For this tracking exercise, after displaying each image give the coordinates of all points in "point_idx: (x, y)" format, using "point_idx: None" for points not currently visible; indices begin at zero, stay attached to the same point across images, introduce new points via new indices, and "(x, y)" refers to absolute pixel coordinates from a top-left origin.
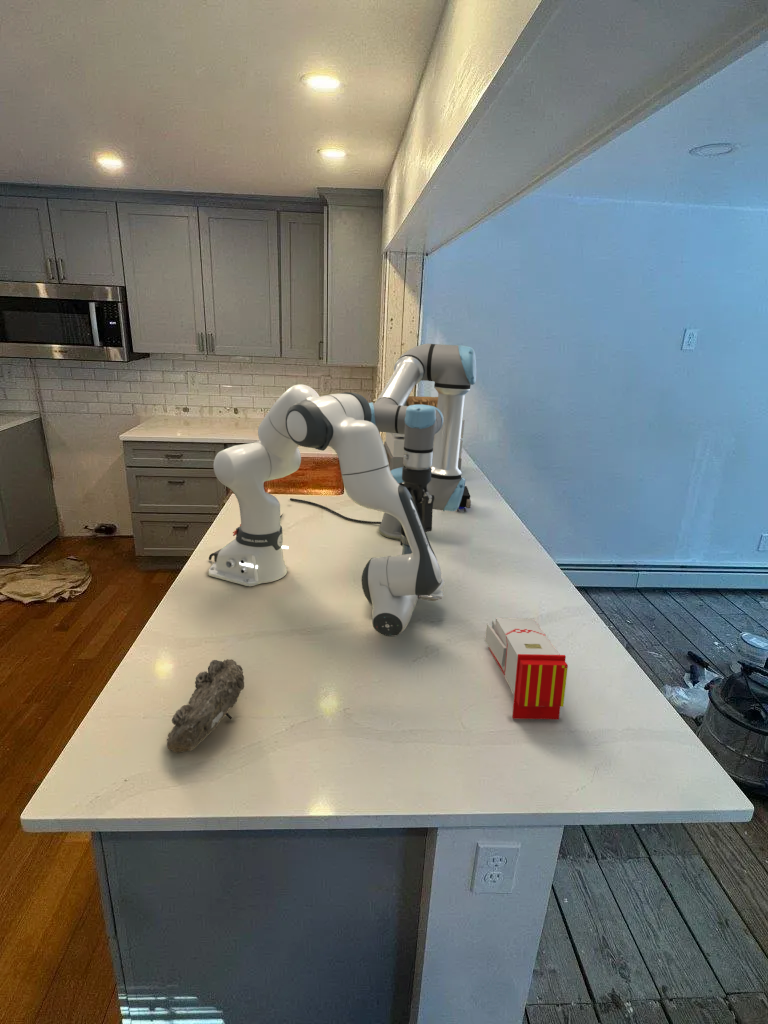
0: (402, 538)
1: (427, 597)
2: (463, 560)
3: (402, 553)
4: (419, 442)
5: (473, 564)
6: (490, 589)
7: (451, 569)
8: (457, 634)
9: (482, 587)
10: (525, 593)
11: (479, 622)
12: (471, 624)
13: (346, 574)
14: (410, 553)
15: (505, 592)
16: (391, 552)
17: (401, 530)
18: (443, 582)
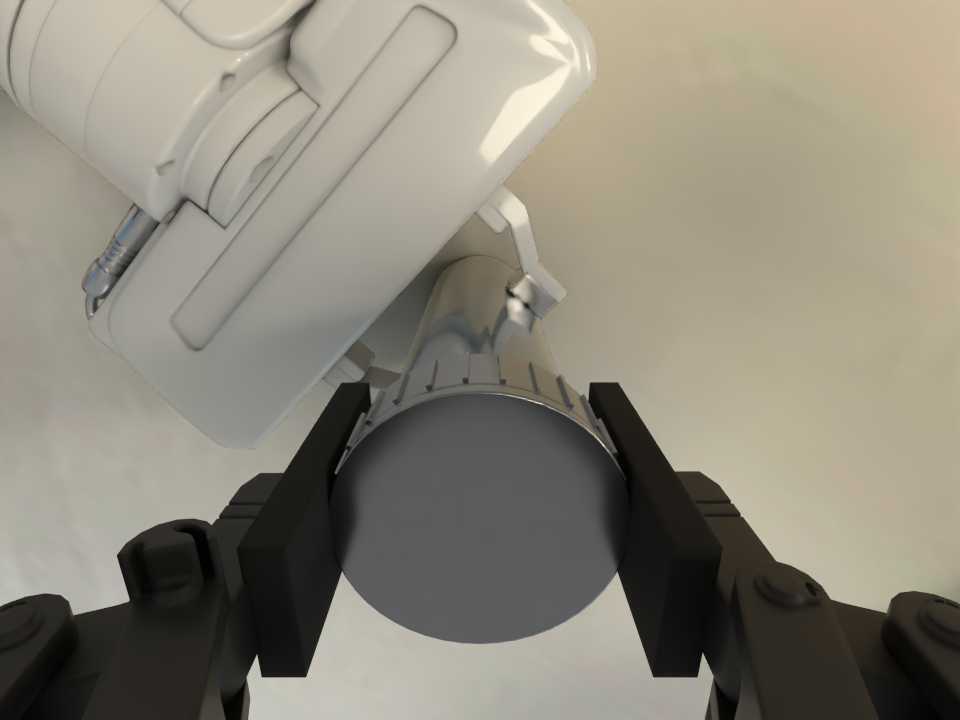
0: (499, 373)
1: (109, 244)
2: (638, 692)
3: (508, 331)
4: None
5: (584, 702)
6: (361, 634)
7: (595, 610)
8: (41, 292)
9: (389, 619)
10: (280, 712)
11: (119, 439)
12: (111, 400)
13: (887, 93)
14: (410, 368)
15: (315, 663)
16: (927, 479)
17: (664, 470)
18: (194, 425)
